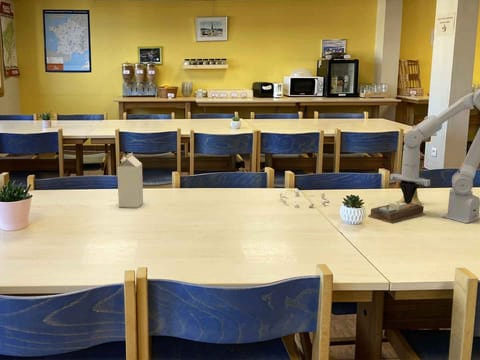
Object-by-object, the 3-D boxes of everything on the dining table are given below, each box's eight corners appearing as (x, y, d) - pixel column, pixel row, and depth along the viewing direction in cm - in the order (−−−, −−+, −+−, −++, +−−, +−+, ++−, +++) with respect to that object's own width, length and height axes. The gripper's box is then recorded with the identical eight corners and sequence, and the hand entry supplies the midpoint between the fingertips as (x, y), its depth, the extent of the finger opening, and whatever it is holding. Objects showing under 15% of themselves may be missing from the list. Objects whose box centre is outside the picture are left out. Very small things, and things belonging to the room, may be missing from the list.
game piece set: (278, 195, 219) (278, 186, 218) (329, 197, 217) (329, 187, 216) (276, 208, 200) (276, 198, 199) (332, 210, 198) (332, 199, 197)
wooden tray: (425, 214, 191) (425, 206, 191) (392, 223, 181) (392, 214, 180) (401, 208, 199) (402, 200, 198) (368, 216, 188) (369, 208, 188)
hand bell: (416, 207, 201) (420, 164, 198) (395, 203, 206) (398, 162, 202) (424, 203, 207) (428, 161, 204) (403, 199, 212) (406, 159, 209)
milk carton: (143, 203, 204) (141, 152, 200) (137, 208, 197) (136, 156, 193) (124, 202, 204) (122, 152, 200) (118, 207, 197) (116, 155, 193)
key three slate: (395, 216, 186) (396, 208, 185) (387, 218, 184) (388, 210, 183) (386, 213, 189) (386, 206, 189) (378, 215, 187) (378, 208, 186)
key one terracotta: (415, 211, 192) (416, 204, 192) (408, 213, 190) (408, 205, 190) (406, 208, 196) (406, 201, 195) (398, 210, 193) (399, 203, 193)
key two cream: (405, 210, 189) (406, 203, 188) (398, 212, 187) (399, 205, 186) (396, 208, 192) (396, 200, 192) (389, 209, 190) (389, 202, 189)
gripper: (436, 166, 187) (432, 204, 189) (399, 160, 197) (396, 197, 200) (424, 168, 182) (421, 208, 185) (387, 162, 193) (385, 200, 196)
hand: (408, 202), depth 192 cm, fingers closed
